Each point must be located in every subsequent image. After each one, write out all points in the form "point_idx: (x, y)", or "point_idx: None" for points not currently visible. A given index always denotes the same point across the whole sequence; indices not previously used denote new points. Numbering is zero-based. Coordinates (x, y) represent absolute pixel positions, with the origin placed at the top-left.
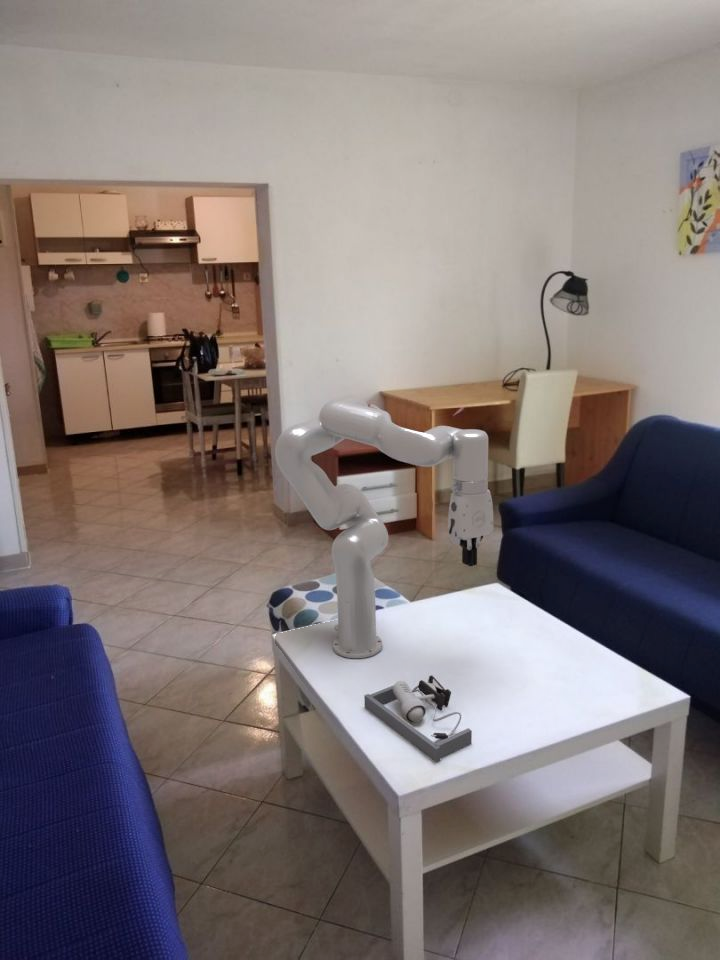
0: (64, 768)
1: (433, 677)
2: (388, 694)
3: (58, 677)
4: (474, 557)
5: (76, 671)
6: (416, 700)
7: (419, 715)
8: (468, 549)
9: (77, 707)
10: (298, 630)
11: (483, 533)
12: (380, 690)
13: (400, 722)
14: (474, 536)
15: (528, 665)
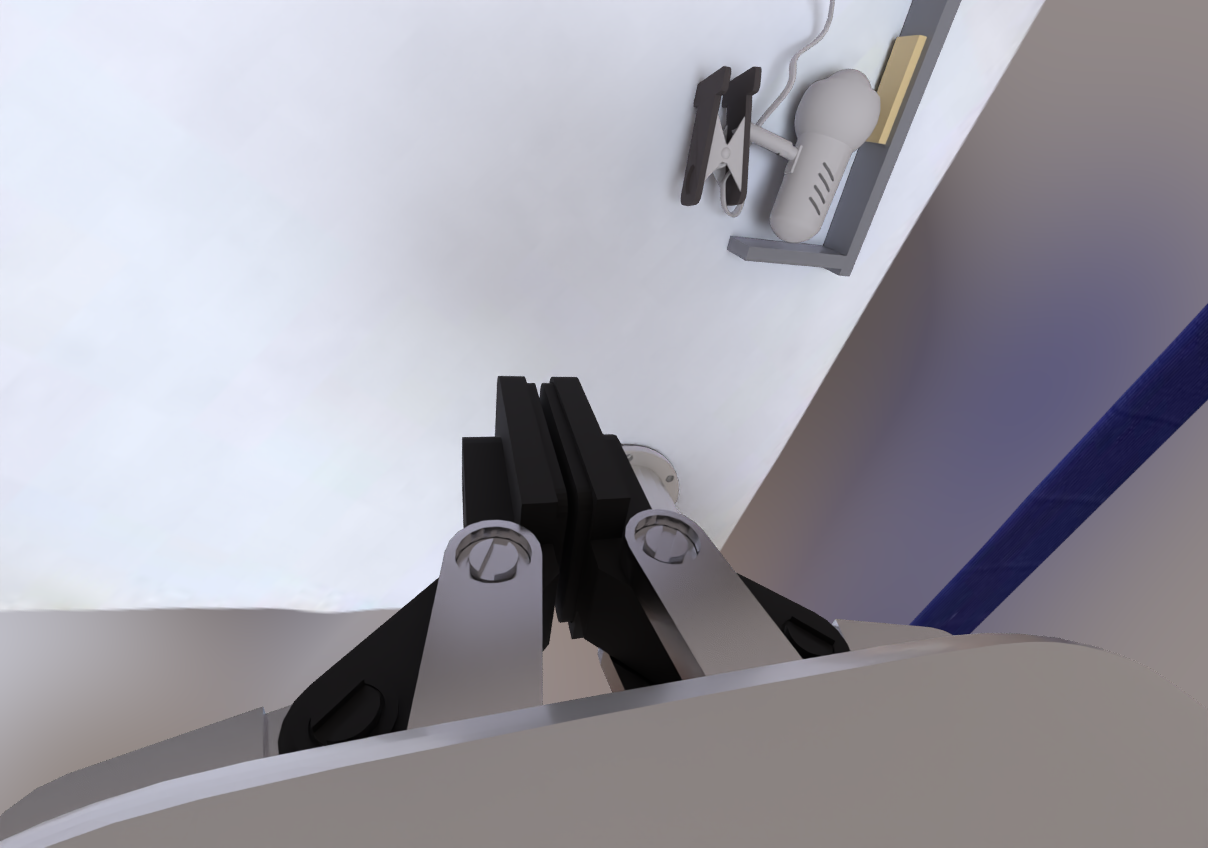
0: (1134, 427)
1: (700, 184)
2: (791, 247)
3: (952, 612)
4: (547, 428)
5: (932, 617)
6: (860, 104)
7: (858, 71)
8: (687, 518)
9: (1006, 543)
10: None
11: (483, 784)
12: (810, 265)
13: (928, 80)
14: (855, 686)
15: (205, 33)
